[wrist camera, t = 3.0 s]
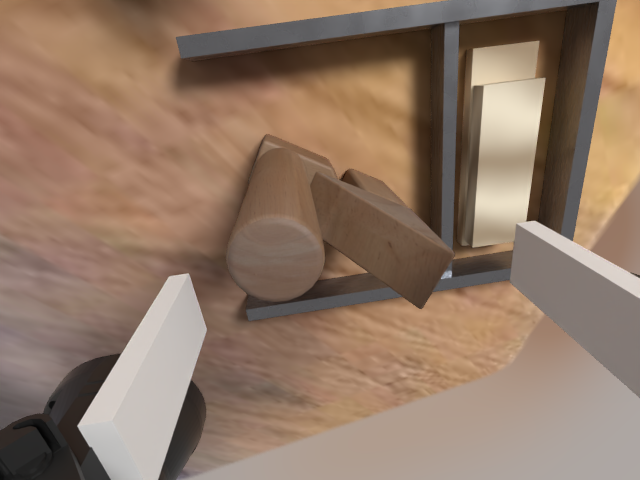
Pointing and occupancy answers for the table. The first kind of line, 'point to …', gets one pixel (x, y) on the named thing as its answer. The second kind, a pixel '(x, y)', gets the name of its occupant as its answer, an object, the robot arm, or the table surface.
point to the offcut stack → (498, 141)
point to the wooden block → (326, 229)
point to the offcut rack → (450, 119)
